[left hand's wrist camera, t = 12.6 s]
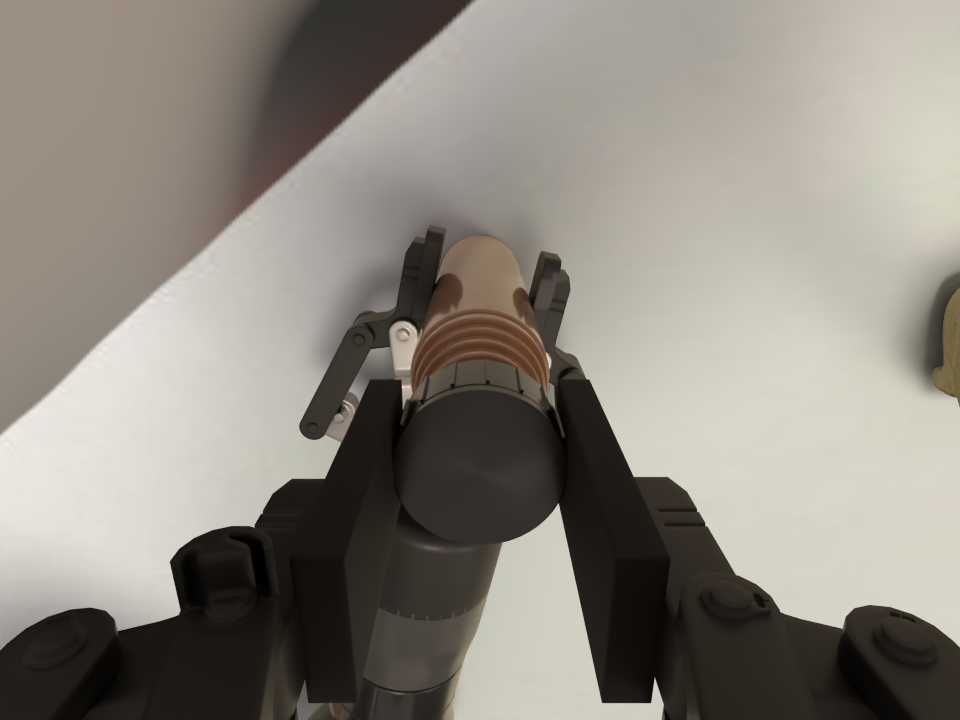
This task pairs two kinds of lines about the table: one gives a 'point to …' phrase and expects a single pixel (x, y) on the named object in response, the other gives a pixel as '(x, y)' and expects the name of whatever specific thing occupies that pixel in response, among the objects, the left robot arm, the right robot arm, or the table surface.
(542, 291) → the right robot arm
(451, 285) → the bottle
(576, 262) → the table surface
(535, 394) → the cap
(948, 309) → the sculpture
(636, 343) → the table surface
